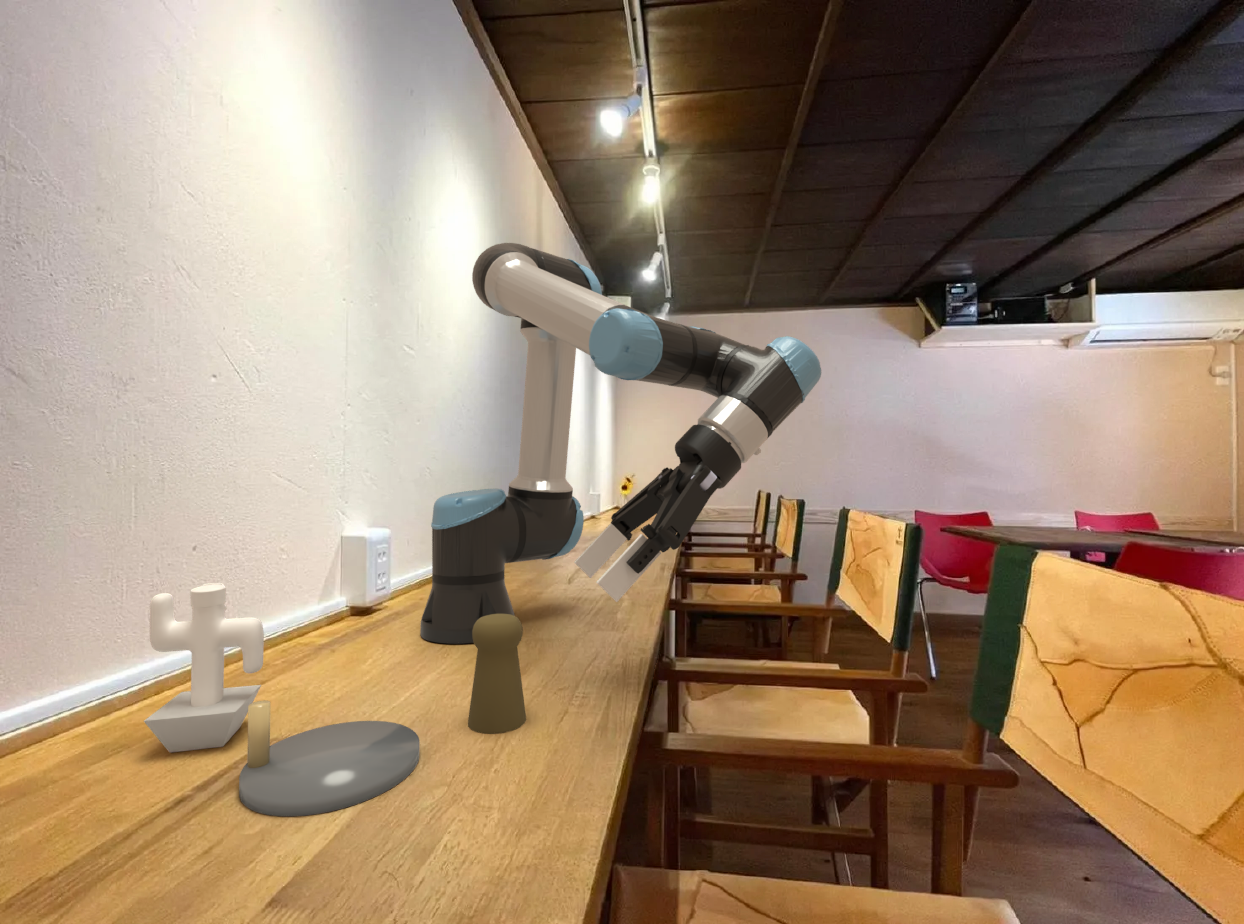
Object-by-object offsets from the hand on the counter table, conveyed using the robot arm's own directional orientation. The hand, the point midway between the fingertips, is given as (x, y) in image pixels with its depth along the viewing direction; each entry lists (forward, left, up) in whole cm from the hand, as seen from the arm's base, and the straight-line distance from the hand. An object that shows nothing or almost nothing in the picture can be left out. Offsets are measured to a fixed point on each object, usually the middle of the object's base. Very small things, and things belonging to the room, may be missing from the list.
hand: (592, 580), depth 62 cm
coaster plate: (+14, -21, -14) cm, 29 cm away
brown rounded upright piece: (+3, -10, -14) cm, 18 cm away
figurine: (+10, -37, -14) cm, 41 cm away
